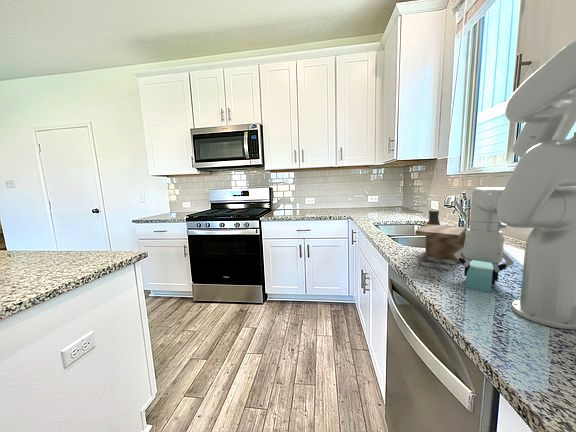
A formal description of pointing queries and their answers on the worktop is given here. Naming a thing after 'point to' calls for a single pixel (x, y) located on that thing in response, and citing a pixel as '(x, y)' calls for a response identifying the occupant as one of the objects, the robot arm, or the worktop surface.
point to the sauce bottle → (433, 219)
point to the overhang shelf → (441, 244)
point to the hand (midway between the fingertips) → (480, 279)
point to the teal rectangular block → (480, 276)
